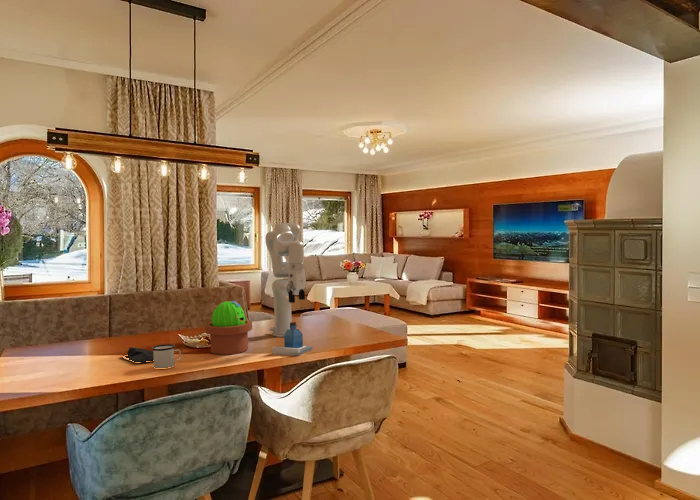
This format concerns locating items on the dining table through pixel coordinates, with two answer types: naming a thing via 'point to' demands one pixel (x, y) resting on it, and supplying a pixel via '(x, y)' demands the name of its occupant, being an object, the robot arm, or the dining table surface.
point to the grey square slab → (291, 350)
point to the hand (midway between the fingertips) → (297, 300)
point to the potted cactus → (228, 329)
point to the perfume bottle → (293, 337)
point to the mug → (164, 355)
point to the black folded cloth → (139, 355)
